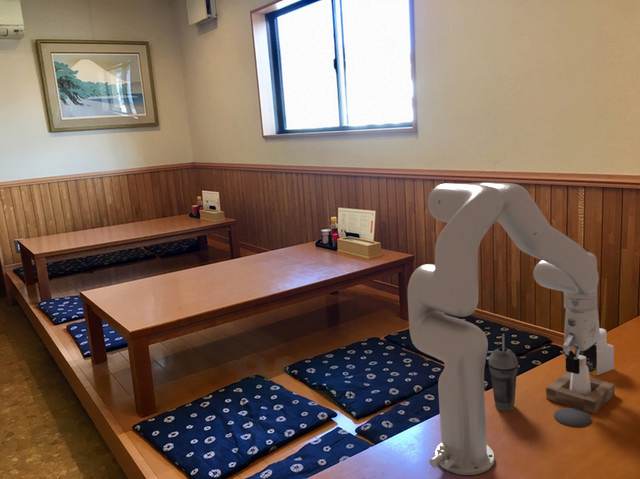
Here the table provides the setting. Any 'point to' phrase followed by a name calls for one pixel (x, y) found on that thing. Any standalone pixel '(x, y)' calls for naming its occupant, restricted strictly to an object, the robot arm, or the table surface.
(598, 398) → the board
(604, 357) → the medicine bottle
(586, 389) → the pepper shaker
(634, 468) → the table surface
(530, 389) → the table surface
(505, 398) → the beverage cup
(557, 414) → the coaster
